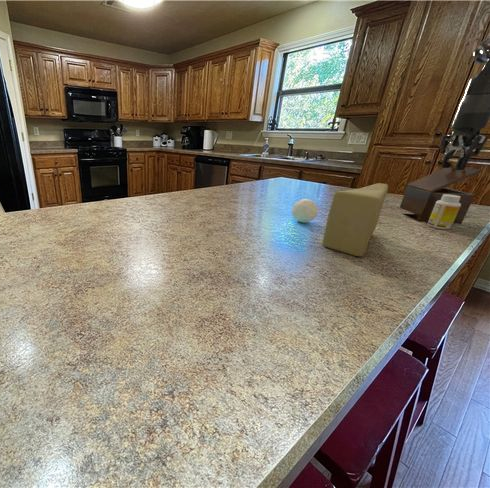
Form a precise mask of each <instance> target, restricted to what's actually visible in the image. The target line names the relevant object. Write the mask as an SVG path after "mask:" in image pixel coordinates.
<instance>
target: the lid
mask: <svg viewBox="0 0 490 488" xmlns="http://www.w3.org/2000/svg"><path fill="white" fill-rule="evenodd" d="M458 159H459V158H456V157H454V158H449V159H448V160H447V162H448V163H450V167H449V168H441V169H438V170H437V171H435V172H432V173H430V174H428V175H425V176H423V177H421V178H419V179H416V180H414V181H411V182H409V183H407V186H410V187H414V188H417V189H420V190H424V191H427V192H431V193H432V192H434V191H437V190H439V189H441V188H447V187H449V186H451V185H453V184H456V183H458V182H461V181H463V180H466V179H468V178H471V177H473V176H476V175H479V174H481V173H482V169H480V168H472V167H467V166H466V167H465V169H464V170H455V167H456V164H457V162H458Z"/></svg>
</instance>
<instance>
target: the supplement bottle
mask: <svg viewBox="0 0 490 488" xmlns="http://www.w3.org/2000/svg"><path fill="white" fill-rule="evenodd" d="M460 198H461V197H460V196H457V195H450V194H444V195H443V196H442V198H441V200H438V201H437V202H436V204H435V206H434V208H433V211H432V213H431V216H430V218H429V221H428V222H426V225H427V226H428V227H430V228H433V229H437V230H449V229H451V228H452V226H453V224H454V223H453V222H454V220H455V218H456V215H457V213H458V211H459V209H460V206H461V204H460V203H459V200H460Z"/></svg>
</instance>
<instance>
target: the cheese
mask: <svg viewBox="0 0 490 488" xmlns="http://www.w3.org/2000/svg"><path fill="white" fill-rule="evenodd" d="M388 189H389V184H387V183H379V182H377V183H374V184H371V185H367V186H364V187H360V188H355V189H345V190H338V191H335V193H334V194H333V198H332V201H331V204H330V208H329V212H328V216H327V220H326V225H325V228H324V233H323V239H322V246H323V247H326V248H328V249H330V250H331V249H332V250H334V251H337V252H341V253H344V254H348V255H350V256H355V257H362V256H364V254H365V252H366V250H367V248H368V244H369V242H370V239H371V237H372V236H373V234H374V232H375V231H376V227H377V225H378V223H379V219H380V215H381V211H382V208H383V204H384V202H385V199H386V196H387V195H388V194H387V193H388Z"/></svg>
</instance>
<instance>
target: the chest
mask: <svg viewBox="0 0 490 488" xmlns="http://www.w3.org/2000/svg"><path fill="white" fill-rule="evenodd" d="M444 194H450V195H457V196H460V197H461V198H460V200H459V203H460V204H461V206H460V209H459V211H458V213H457V215H456V218H455V220H454V222H453V224H455V225H461V224H462V223H463V222H464V219H465V217H466V215H467V213H468V211H469V209H470V206H471V204H472V202H473V200H474V199H475V195H476V194H473V193H469V192H466V191H461V190H457V189H453V188H449V187H444V188H441V189H439V190H437V191H434V192H432V193H431V192H427V191H424V190H420V189H417V188H414V187H410V186H408V185H407V186H406V189H405V192H404V194H403V198H402V199H401V202H400V205H399V208H400V209H402V210H405V211H408V212H410V213H401V215H404V216H406V217H408V218H410V219H412V220H415V221H416V222H420V223H421V222H422V223H428V221H429V218H430V216H431V213H432V211H433V208H434V206H435V204H436V202H437V201H438V200H441V198H442V196H443V195H444Z"/></svg>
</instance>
